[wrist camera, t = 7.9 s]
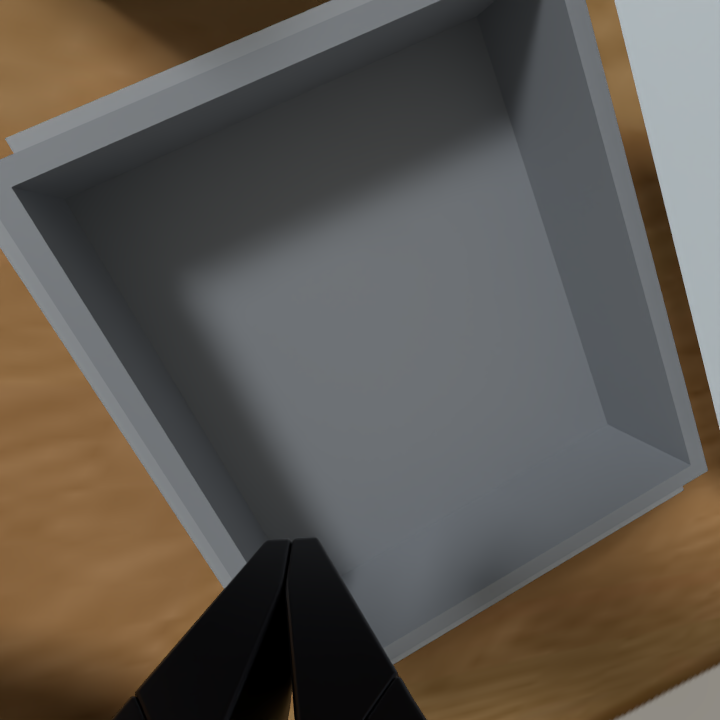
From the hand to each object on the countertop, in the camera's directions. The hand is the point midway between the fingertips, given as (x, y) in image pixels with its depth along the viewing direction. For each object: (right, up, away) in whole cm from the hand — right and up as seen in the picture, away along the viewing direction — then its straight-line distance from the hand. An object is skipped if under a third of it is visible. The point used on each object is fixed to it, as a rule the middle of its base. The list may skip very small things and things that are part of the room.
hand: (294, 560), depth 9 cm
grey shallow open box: (+2, +4, +12) cm, 13 cm away
